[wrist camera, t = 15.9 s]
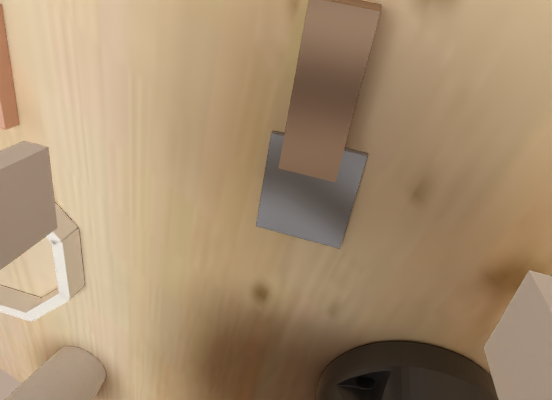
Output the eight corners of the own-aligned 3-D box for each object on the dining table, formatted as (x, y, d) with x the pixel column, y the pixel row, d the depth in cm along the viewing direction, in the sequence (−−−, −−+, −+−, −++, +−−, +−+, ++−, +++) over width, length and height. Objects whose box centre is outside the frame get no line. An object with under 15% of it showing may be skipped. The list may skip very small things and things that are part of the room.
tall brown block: (340, 244, 28) (332, 292, 24) (257, 222, 29) (236, 264, 25) (410, 10, 21) (417, 18, 16) (296, -12, 21) (274, -10, 17)
